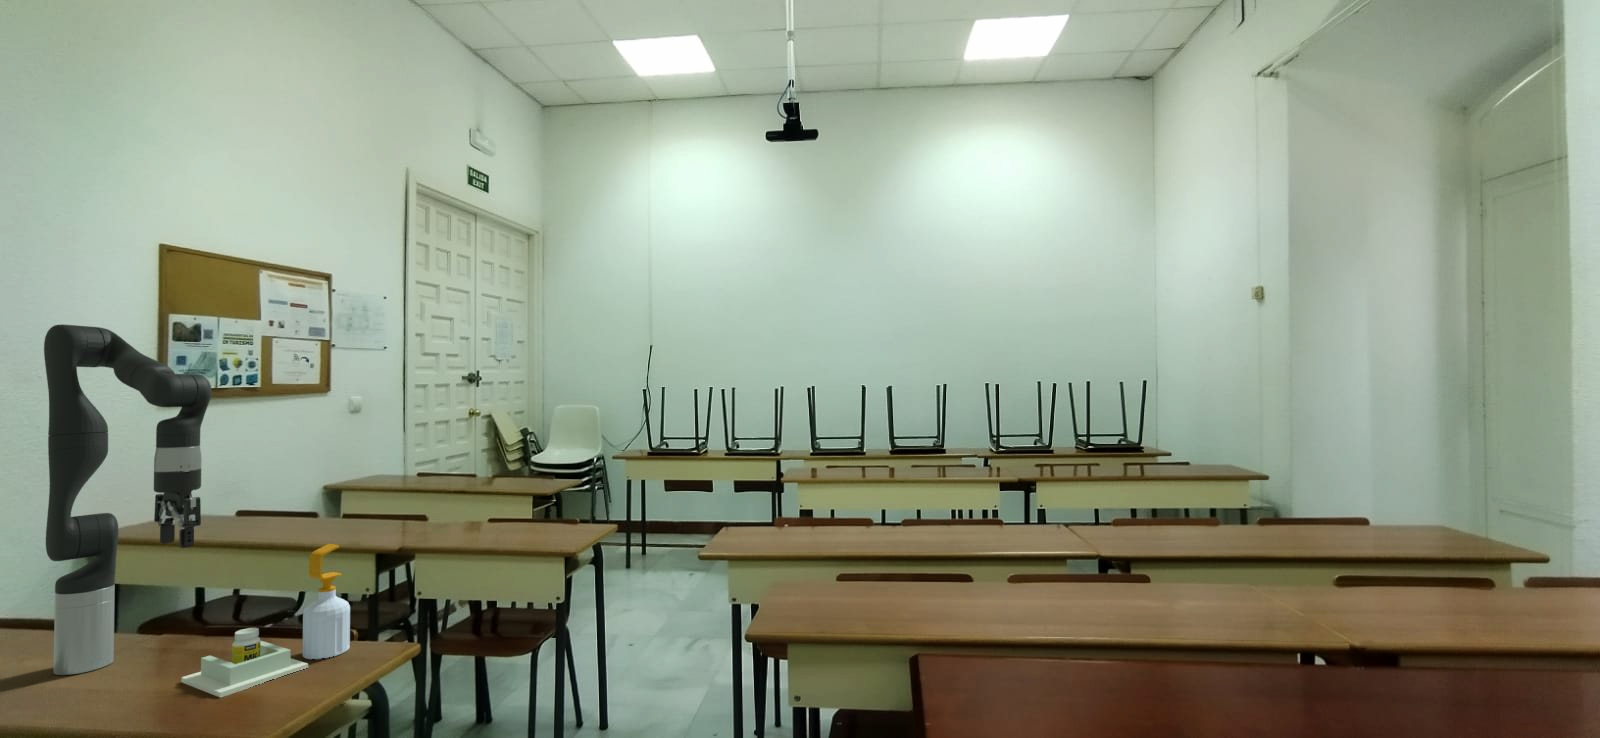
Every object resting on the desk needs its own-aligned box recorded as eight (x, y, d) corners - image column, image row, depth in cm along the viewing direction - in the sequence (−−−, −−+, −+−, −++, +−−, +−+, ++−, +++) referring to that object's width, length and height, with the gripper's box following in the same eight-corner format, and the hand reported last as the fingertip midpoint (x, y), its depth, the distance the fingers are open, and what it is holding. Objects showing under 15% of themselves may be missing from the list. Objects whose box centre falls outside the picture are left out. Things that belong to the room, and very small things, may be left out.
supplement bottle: (244, 676, 146) (245, 635, 146) (225, 674, 147) (226, 634, 147) (265, 666, 150) (266, 627, 151) (247, 665, 151) (248, 626, 152)
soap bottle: (358, 648, 163) (359, 543, 164) (317, 663, 155) (319, 551, 156) (334, 643, 167) (335, 540, 168) (293, 656, 159) (294, 548, 159)
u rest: (181, 682, 145) (181, 660, 145) (268, 655, 159) (269, 635, 160) (220, 697, 138) (220, 674, 138) (308, 668, 152) (308, 647, 152)
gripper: (139, 468, 148) (138, 545, 147) (171, 471, 141) (170, 552, 141) (183, 464, 154) (182, 538, 154) (216, 467, 148) (215, 544, 147)
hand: (176, 545), depth 147 cm, fingers open, 8 cm apart
